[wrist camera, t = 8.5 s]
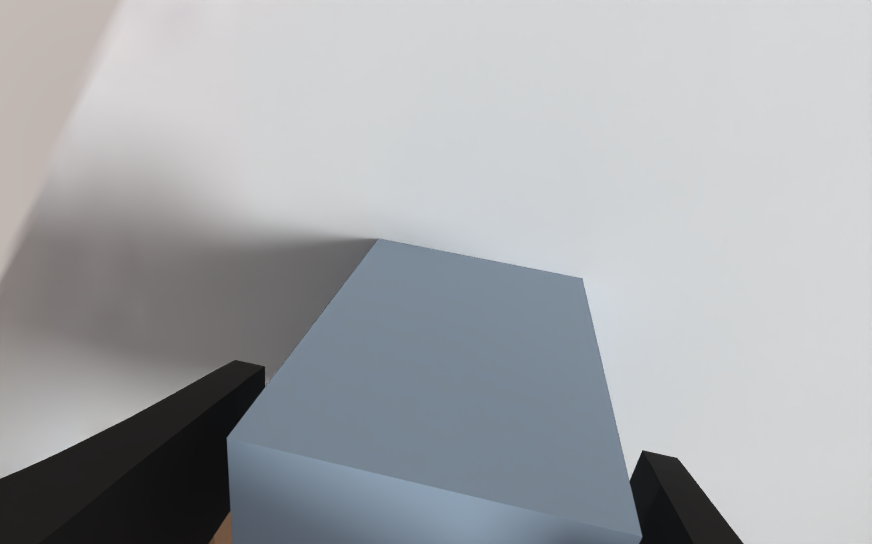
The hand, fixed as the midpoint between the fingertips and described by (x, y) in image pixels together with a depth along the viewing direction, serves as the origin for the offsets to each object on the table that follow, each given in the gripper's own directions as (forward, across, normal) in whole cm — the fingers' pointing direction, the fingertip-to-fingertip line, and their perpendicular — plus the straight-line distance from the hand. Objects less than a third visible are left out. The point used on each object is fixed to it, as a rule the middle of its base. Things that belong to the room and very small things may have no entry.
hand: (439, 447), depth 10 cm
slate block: (+4, 0, 0) cm, 4 cm away
